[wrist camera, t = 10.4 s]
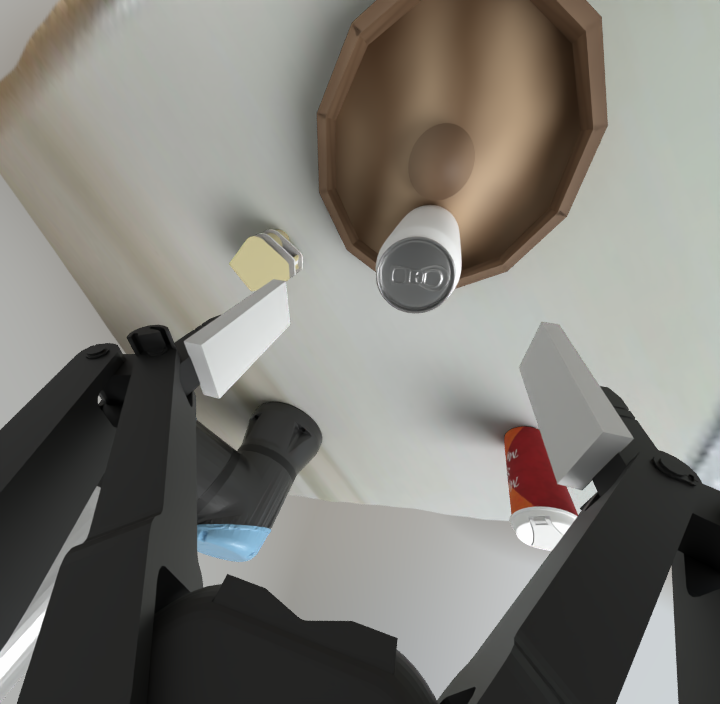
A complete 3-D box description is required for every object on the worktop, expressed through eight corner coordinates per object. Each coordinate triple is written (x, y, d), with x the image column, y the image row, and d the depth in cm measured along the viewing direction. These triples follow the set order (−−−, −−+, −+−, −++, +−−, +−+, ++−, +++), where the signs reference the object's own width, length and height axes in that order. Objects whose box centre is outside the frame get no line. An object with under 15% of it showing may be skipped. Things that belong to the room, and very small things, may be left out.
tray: (332, 262, 35) (321, 272, 32) (331, -16, 22) (311, -42, 19) (520, 289, 31) (527, 304, 28) (654, -31, 18) (694, -68, 15)
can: (453, 270, 30) (453, 323, 21) (394, 266, 32) (370, 313, 22) (465, 204, 27) (471, 231, 17) (398, 203, 28) (370, 227, 19)
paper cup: (489, 427, 43) (501, 520, 32) (544, 416, 40) (580, 517, 28) (507, 458, 46) (524, 553, 35) (560, 450, 42) (598, 555, 31)
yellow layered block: (279, 297, 41) (259, 315, 36) (236, 242, 37) (208, 254, 33) (331, 264, 36) (314, 279, 31) (286, 196, 32) (260, 203, 28)
